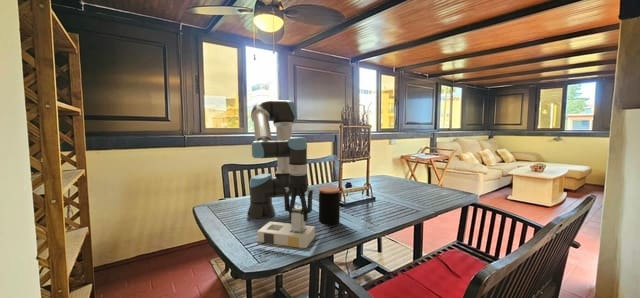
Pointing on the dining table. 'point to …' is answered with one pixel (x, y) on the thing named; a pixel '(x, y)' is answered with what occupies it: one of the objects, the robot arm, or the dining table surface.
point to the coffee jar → (329, 205)
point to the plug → (297, 219)
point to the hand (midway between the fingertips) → (298, 227)
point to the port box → (285, 235)
